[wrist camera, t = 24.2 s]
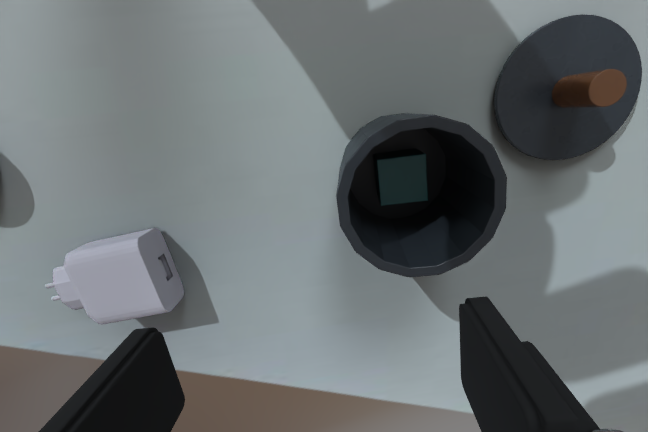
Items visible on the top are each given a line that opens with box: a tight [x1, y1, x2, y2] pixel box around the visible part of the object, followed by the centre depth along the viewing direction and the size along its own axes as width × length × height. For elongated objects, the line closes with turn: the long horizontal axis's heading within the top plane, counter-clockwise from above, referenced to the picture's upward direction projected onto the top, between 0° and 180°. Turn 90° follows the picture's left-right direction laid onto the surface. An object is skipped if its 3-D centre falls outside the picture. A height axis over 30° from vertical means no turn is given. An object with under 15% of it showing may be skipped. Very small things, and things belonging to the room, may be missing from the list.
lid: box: [494, 15, 642, 160], centre depth 29 cm, size 13×13×6 cm
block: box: [373, 149, 428, 206], centre depth 33 cm, size 4×4×4 cm
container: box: [337, 113, 507, 277], centre depth 29 cm, size 12×12×12 cm
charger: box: [45, 228, 184, 324], centre depth 39 cm, size 5×9×15 cm
